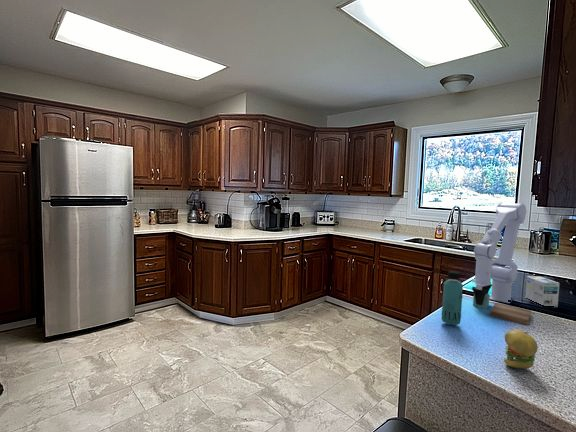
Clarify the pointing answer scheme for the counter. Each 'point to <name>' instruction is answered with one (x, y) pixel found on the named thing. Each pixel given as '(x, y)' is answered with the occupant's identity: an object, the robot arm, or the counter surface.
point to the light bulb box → (542, 290)
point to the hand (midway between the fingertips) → (481, 302)
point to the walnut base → (510, 313)
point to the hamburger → (520, 349)
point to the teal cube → (485, 302)
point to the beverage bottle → (452, 299)
